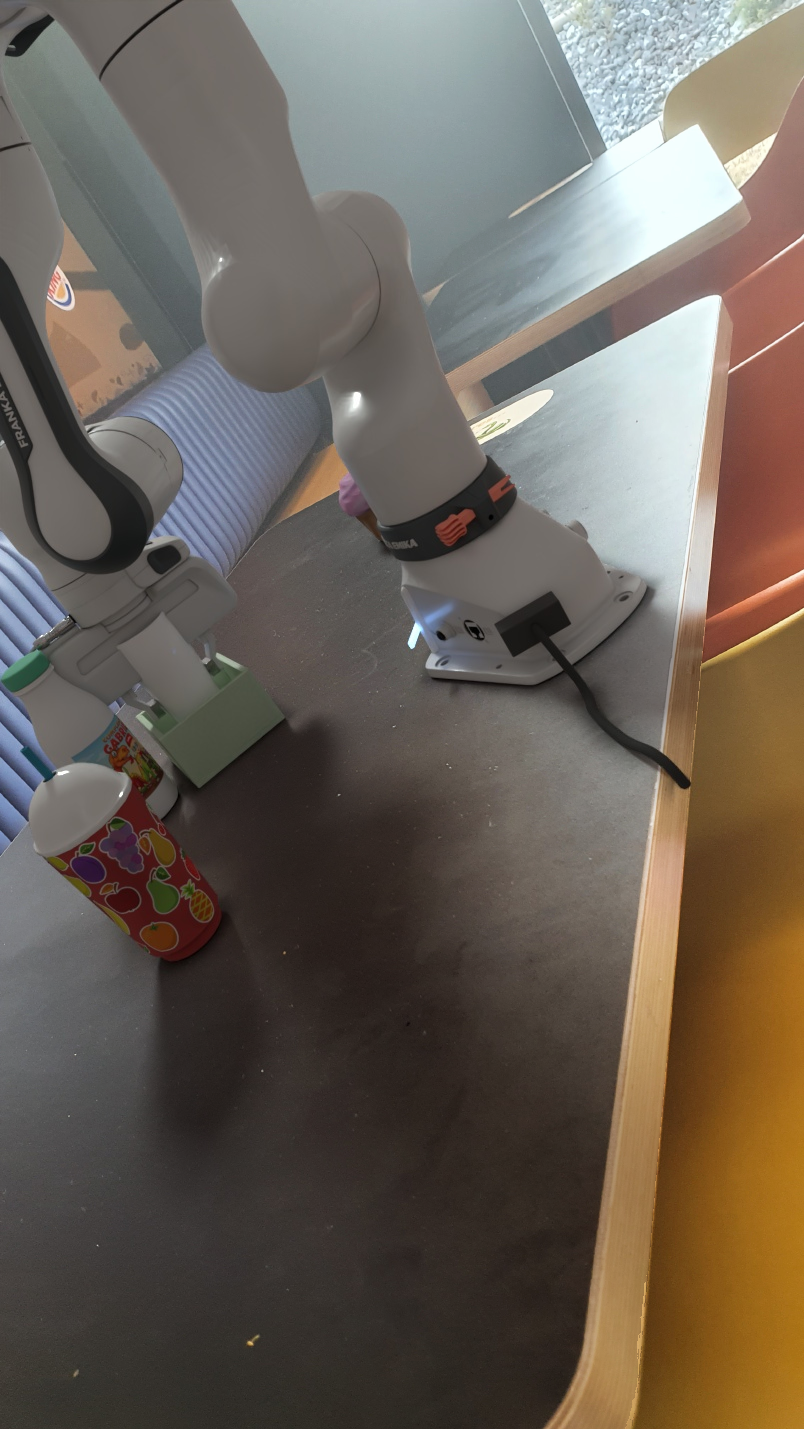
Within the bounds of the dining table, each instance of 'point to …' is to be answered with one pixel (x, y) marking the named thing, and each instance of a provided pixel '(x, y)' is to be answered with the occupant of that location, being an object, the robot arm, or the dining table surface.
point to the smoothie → (121, 857)
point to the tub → (216, 724)
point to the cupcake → (357, 505)
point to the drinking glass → (169, 668)
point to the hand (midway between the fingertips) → (189, 694)
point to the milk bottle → (84, 729)
